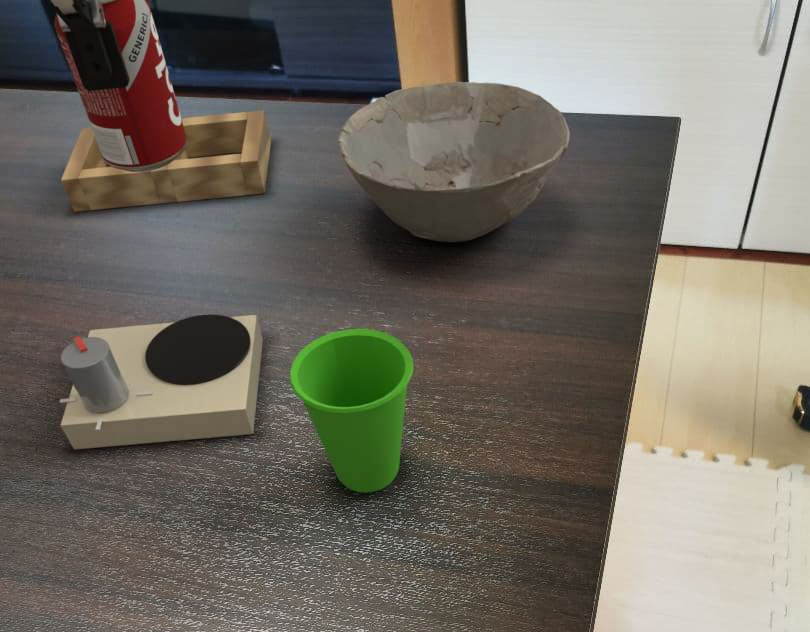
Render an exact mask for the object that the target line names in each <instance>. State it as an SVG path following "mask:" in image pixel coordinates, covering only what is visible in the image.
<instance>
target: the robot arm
mask: <svg viewBox="0 0 810 632" xmlns="http://www.w3.org/2000/svg"><path fill="white" fill-rule="evenodd" d="M50 2H51V8H52V10H53V11H55V14H56V13H57V16H58V20H59V24H60V27H61V29H62V30H63V32H64V34H65V37H66V39H67V42H68V45H69V48H70V50H71V53H72V56H73V59H74V61H75V64H76V67H77V70H78V72H79V75H80V78H81V81H82V83H83V86H84V88H85V89H86V90H88V91H95V90H105V89H114V88H123V87H127V86H128V84H129V80H130V79H129V75H128V72H127V69H126V66H125V63H124V60H123V56H122V53H121V50H120V47H119V44H118V41H117V38H116V35H115V31H114V28H113V25H112V22H105V16H104V12H103V7H102V2H101V0H88V2H89V3H88V2H87V0H50Z"/></svg>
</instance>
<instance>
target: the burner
mask: <svg viewBox="0 0 810 632" xmlns="http://www.w3.org/2000/svg"><path fill="white" fill-rule="evenodd" d="M230 317H231V316H227V315H223V314H198V315H194V316H189V317H185V318H182V319H179V320H177V321H174V322H175V323H173V324H171V325H169V326H168V327H166V328H164V329H163V330H162V331H160V332H159V333H158V334H157V335H156V336H155V337H154V338H153V339H152V341H151V342H150V343H149V345H148V347H147V350H146V354H145V361H146V364H147V367H148V369H149V371H150V372H151V373H152V374H153V375H154V376H155V377H157V378H158V379H160V380H162V381H164V382H167V383H171V384H177V385H194V384H201V383H206V382H209V381H212V380H215V379H218V378H220V377H222V376H224V375H226V374H228V373H229V372H231V371H232V370H234V369H235V368H236V367H238V366H239V365H240V364H241V363H242V362H243V360H244V359H245V358H246V356H247V354H248V352H249V350H250V346H251V339H250V335H249V332H248V330H247V329H246V327H245V326H244V325H243V324H242V323H240V322H239V321H237V320H235V319H233V318H230Z"/></svg>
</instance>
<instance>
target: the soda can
mask: <svg viewBox="0 0 810 632" xmlns="http://www.w3.org/2000/svg"><path fill="white" fill-rule="evenodd" d="M87 2H88V0H87ZM101 2H102V7H103V12H104V16H105V22H112V25H113V28H114V31H115V35H116V38H117V41H118V44H119V47H120V50H121V53H122V56H123V60H124V63H125V66H126V69H127V72H128V75H129V79H130V80H129V84H128V86H127V87H123V88H114V89H105V90H95V91H88V90H86V89H85V88H84V86H83V83H82V81H81V78H80V75H79V72H78V70H77V67H76V64H75V61H74V59H73V56H72V53H71V50H70V48H69V45H68V42H67V39H66V37H65V34H64V32H63V30H62V29H61V27H60V24H59V20H58V16H57V13H56V12H55V18H54V23H53V24H54V29H55V31H56V35H57V37H58V39H59V43H60V46H61V48H62V51H63V54H64V56H65V58H66V61H67V64H68V67H69V69H70V72H71V75H72V78H73V80H74V83H75V85H76V88H77V91H78V94H79V97H80V100H81V102H82V105H83V108H84V110H85V112H86V116H87V119H88V121H89V124H90V128H92V129H93V132H94V135H95V138H96V140H97V143H98V146H99V149H100V151H101V154H102V157H103V159H104V161H105V162H106V163H107V164H108V165H110V166H109V167H114V168H117V169H121V170H126V171H129V172H147V171H152V170H156V169H159V168H161V167H164V166H166V165H168V164H169V163H171V162H172V161H173V160H174V159H175V158H176V157H177V156H179V155H180V154H181V153H182V152H183V151H184V149H185V147H186V145H187V137H186V133H185V130H184V126H183V123H182V116H181V112H180V109H179V104H178V102H177V98H176V95H175V91H174V88H173V84H172V80H171V77H170V73H169V70H168V67H167V63H166V59H165V56H164V52H163V49H162V45H161V41H160V38H159V34H158V31H157V27H156V24H155V20H154V17H153V12H152V9H151V6H150V5H149V3H148V2H147V0H101ZM88 3H89V2H88Z"/></svg>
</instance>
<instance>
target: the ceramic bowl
mask: <svg viewBox="0 0 810 632" xmlns="http://www.w3.org/2000/svg"><path fill="white" fill-rule="evenodd" d="M570 134H571V133H570V128H569V125H568V123H567V121H566V119H565V116H564V115H563V113H562V112H561V111H560V110H559V109H558V108H557V107H555V106H554V105H552V103H551V102H549V101H548V100H546V99H545V98H544V97H542V96H541V95H539V94H537V93H534V92H532V91H530V90H528V89H525V88H522V87H519V86H515V85H509V84H505V83H499V82H475V81H472V82H471V81H470V82H463V81H454V82H453V81H452V82H442V83H435V84H425V85H424V86H422V85H421V86H414V87H408V88H401V89H397V90H394V91H392V92H390V93H387V94H385V95H384V97H382V96H380V97H378V98H377V99H376V100H374V101H372V102H371V103H369V104H366V105H365V106H363V107H361V108H360V109H358V110H356V111H355V112H354V113H353V114H352V115H351V116H349V117H348V119H346V120H345V122H344V124H343V126H342V128H341V131H340V132H339V133H338V142H337V143H338V149H339V152H340V155H341V157H342V160H343V161H344V162H345V165H346V167H347V168H348V170H349V172H350V173H351V174H352V176H353V177H354V179H355V180H356V182H357V183H358V185H359V186H360V187H361V188H362V189H363V191H364V192H365V194H366V195H367V196H368V197H369V198H370V200H372V201H373V202H374V203H375V204H376V205H377V206H378V207H379V208H380V210H382V211H383V214H385V215H386V216H387V217H388V218H389V219H390V220H391V221H393V222H394V223H395V224H396V225H398V226H400V227H401V228H402V229H405V230H407V231H408V232H410V234H412V235H413V236H415V237H417V238H421V239H425V240H426V239H427V240H430V241H436V242H446V243H460V242H469V241H472V240H475V239H477V238H480V237H483V236H485V235H487V234H488V233H491V232H492V231H494V230H496V229H497V228H499V227H501V226H502V225H504V224H505V223H507V222H509V221H511V220H512V219H514V218H516V217H518V216H519V215H520V214H521V213H523V212H524V211H525V210H526V209H527V208H528V207H529V205H531V204H532V202H533V201H534V200H535V199H536V198H537V197H538V195H539V193H540V191H541V190H542V188H543V187H544V186H545V184H546V183H547V182H548V180H549V179H550V177H551V176H552V174H553V172H554V171H555V169H556V167H557V166H558V163H559V162H560V161H561V160H562V158H563V156H564V155H565V153H566V151H567V150H568V146H569V143H570Z"/></svg>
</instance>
